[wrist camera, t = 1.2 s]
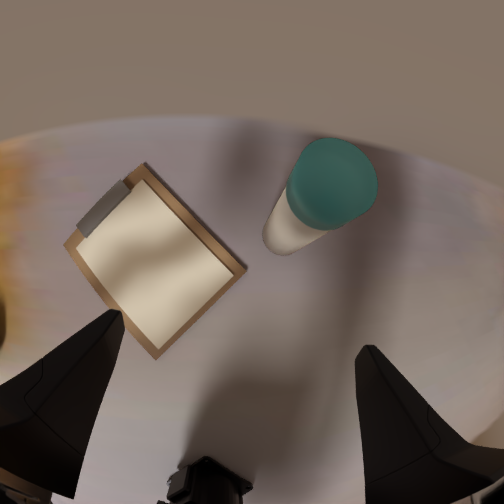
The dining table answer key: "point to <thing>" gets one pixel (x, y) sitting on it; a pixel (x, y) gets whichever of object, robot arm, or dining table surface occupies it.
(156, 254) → the clipboard
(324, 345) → the dining table surface
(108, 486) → the dining table surface
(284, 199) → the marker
